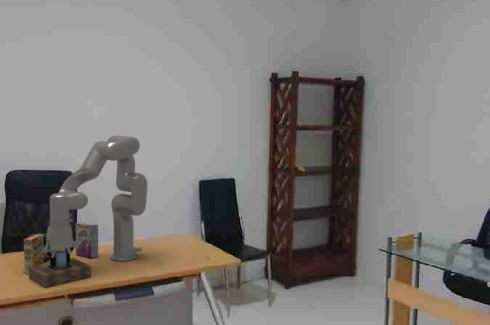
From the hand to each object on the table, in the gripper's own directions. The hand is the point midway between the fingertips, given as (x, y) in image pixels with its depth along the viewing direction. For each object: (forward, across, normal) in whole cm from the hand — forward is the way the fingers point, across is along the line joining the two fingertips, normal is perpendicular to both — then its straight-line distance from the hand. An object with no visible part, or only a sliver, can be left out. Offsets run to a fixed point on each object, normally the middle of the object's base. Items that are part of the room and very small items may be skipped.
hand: (60, 264), depth 210 cm
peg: (+5, 0, 0) cm, 5 cm away
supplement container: (+6, -4, -30) cm, 31 cm away
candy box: (+6, +4, -17) cm, 19 cm away
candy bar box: (+6, -24, -22) cm, 33 cm away
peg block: (+6, 0, 0) cm, 6 cm away
